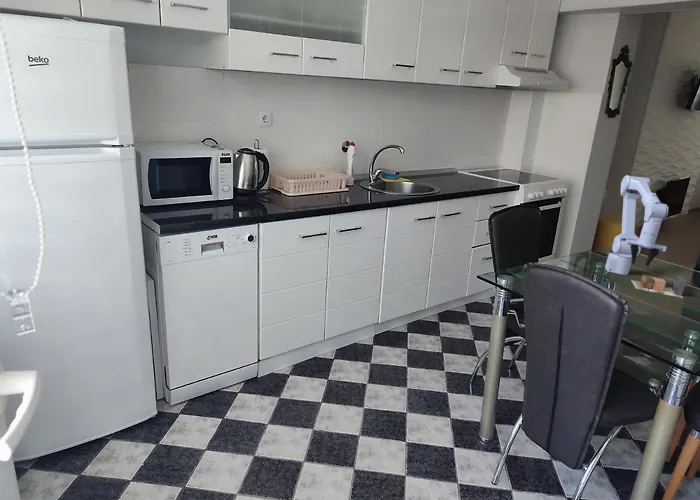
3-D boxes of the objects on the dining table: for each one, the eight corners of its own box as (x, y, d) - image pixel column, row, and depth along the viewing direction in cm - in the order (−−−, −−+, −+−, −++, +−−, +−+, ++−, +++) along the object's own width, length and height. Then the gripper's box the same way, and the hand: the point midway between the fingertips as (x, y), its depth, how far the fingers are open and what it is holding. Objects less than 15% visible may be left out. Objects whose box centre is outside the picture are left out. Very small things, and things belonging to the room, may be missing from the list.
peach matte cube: (651, 289, 200) (654, 280, 199) (649, 285, 204) (652, 277, 203) (662, 291, 199) (665, 282, 198) (660, 288, 203) (663, 279, 202)
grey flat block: (675, 296, 197) (680, 280, 195) (671, 291, 203) (676, 276, 201) (680, 297, 197) (686, 281, 195) (676, 292, 202) (681, 277, 200)
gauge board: (635, 290, 199) (636, 288, 199) (630, 282, 209) (631, 279, 209) (682, 300, 194) (683, 297, 194) (674, 290, 204) (675, 288, 204)
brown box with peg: (643, 288, 200) (646, 279, 198) (640, 283, 205) (643, 274, 204) (651, 289, 199) (654, 280, 198) (648, 284, 204) (651, 275, 203)
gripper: (631, 231, 195) (622, 263, 199) (672, 238, 191) (661, 270, 195) (628, 227, 202) (619, 258, 206) (667, 234, 198) (657, 265, 202)
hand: (639, 264), depth 201 cm, fingers open, 5 cm apart
